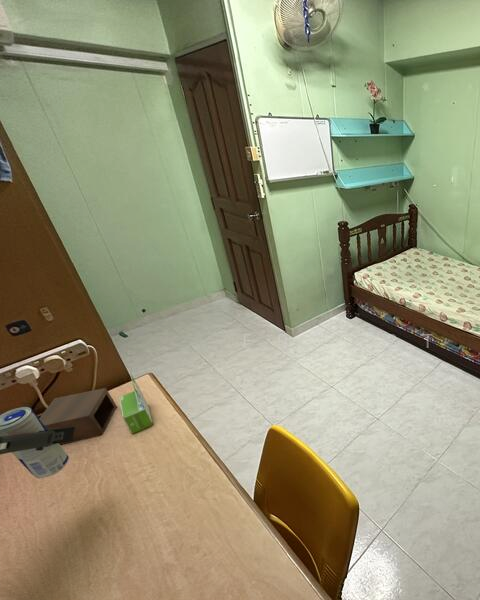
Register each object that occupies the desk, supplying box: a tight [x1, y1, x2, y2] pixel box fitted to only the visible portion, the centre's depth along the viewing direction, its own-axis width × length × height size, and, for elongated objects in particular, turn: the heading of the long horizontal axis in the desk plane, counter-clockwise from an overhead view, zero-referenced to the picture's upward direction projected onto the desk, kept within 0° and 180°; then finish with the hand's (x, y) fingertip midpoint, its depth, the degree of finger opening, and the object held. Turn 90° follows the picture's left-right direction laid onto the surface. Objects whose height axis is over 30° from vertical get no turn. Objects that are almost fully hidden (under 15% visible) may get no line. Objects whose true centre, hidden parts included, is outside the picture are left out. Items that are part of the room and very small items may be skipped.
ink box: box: [118, 372, 154, 435], centre depth 90 cm, size 10×5×14 cm, turn 43°
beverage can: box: [0, 406, 70, 479], centre depth 59 cm, size 5×5×15 cm
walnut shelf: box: [38, 387, 118, 446], centre depth 89 cm, size 12×11×8 cm
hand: (55, 434), depth 63 cm, fingers closed on beverage can, 5 cm apart
